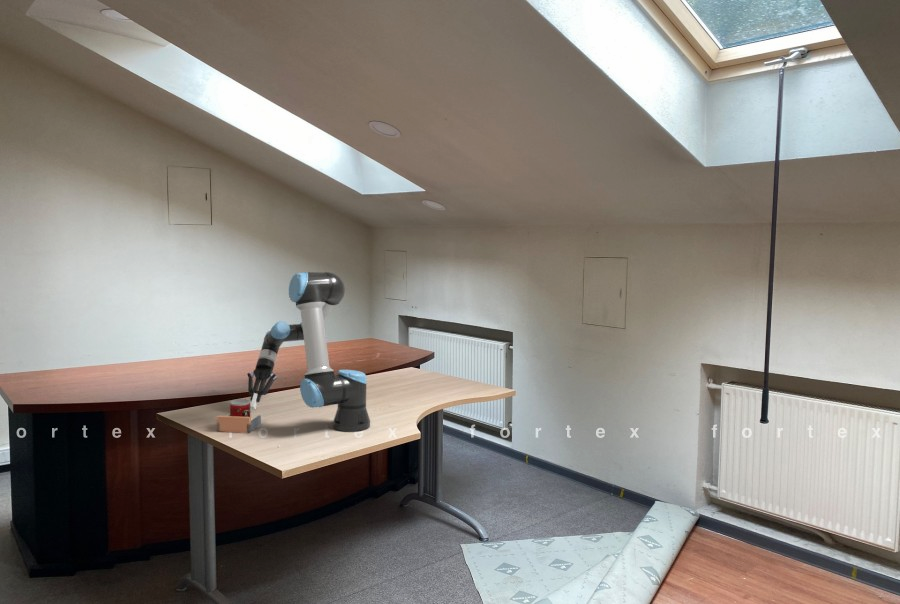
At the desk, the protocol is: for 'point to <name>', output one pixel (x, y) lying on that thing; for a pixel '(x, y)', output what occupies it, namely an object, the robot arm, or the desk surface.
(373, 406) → the desk surface
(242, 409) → the canned food
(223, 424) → the bracket
